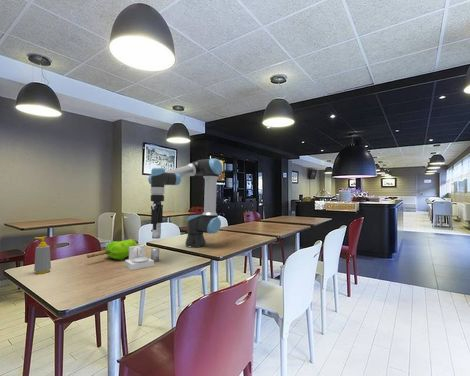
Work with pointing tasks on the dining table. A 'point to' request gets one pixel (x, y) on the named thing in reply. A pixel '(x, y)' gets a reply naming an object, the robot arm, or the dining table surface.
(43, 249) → the soap bottle
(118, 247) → the decorative tree
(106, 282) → the dining table surface
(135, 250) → the light grey square stand
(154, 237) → the spacer
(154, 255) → the spacer
